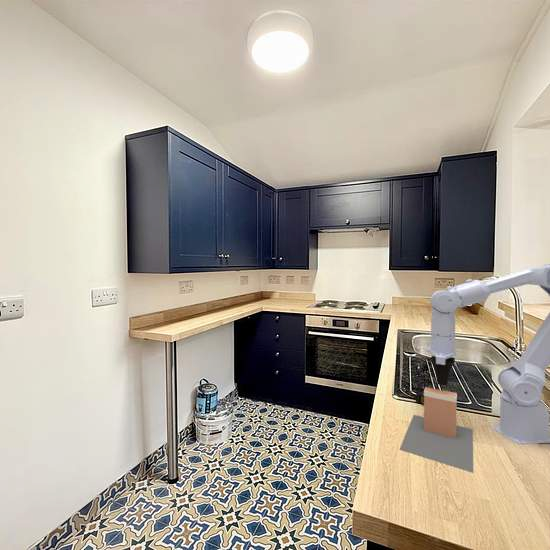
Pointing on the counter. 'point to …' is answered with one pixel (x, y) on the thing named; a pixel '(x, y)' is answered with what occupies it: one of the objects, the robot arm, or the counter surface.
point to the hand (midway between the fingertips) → (442, 384)
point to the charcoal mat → (440, 445)
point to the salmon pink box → (440, 412)
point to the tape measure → (419, 397)
